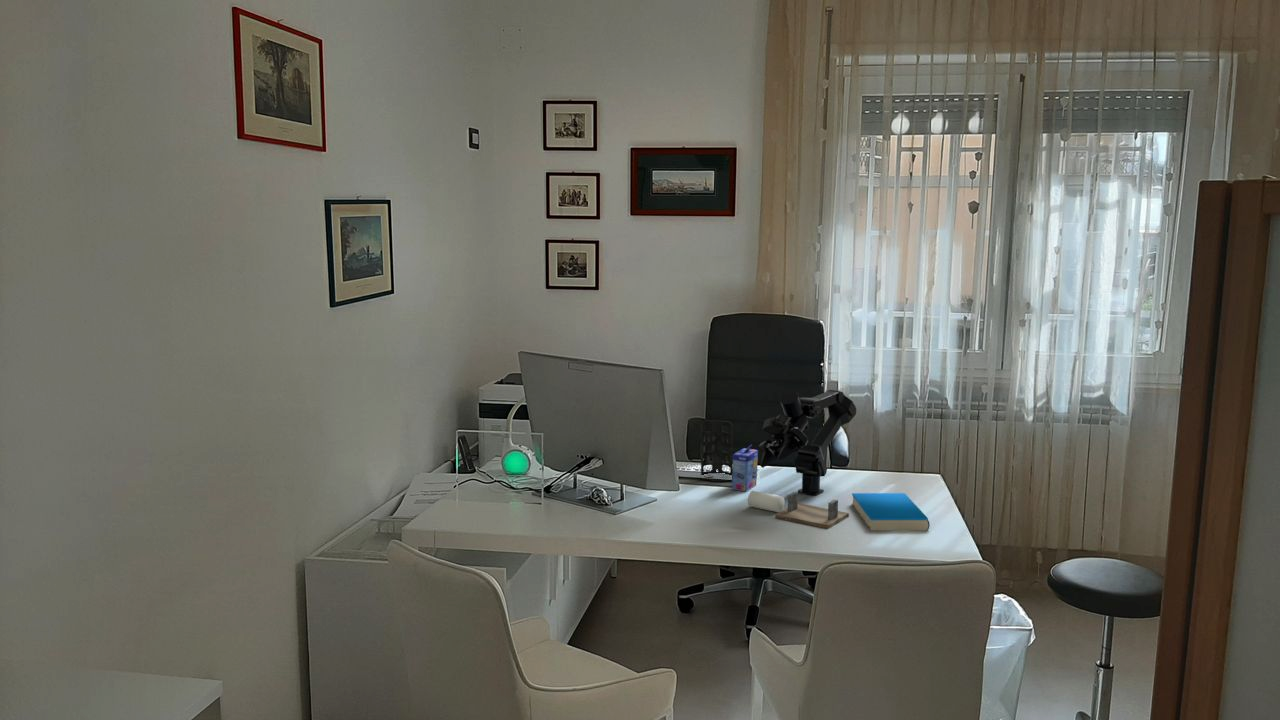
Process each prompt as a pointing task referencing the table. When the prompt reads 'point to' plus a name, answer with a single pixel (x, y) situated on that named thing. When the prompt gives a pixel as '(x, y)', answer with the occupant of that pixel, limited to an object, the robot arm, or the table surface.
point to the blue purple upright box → (744, 469)
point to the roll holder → (812, 513)
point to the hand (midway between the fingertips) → (770, 462)
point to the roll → (766, 501)
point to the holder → (716, 447)
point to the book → (890, 511)
